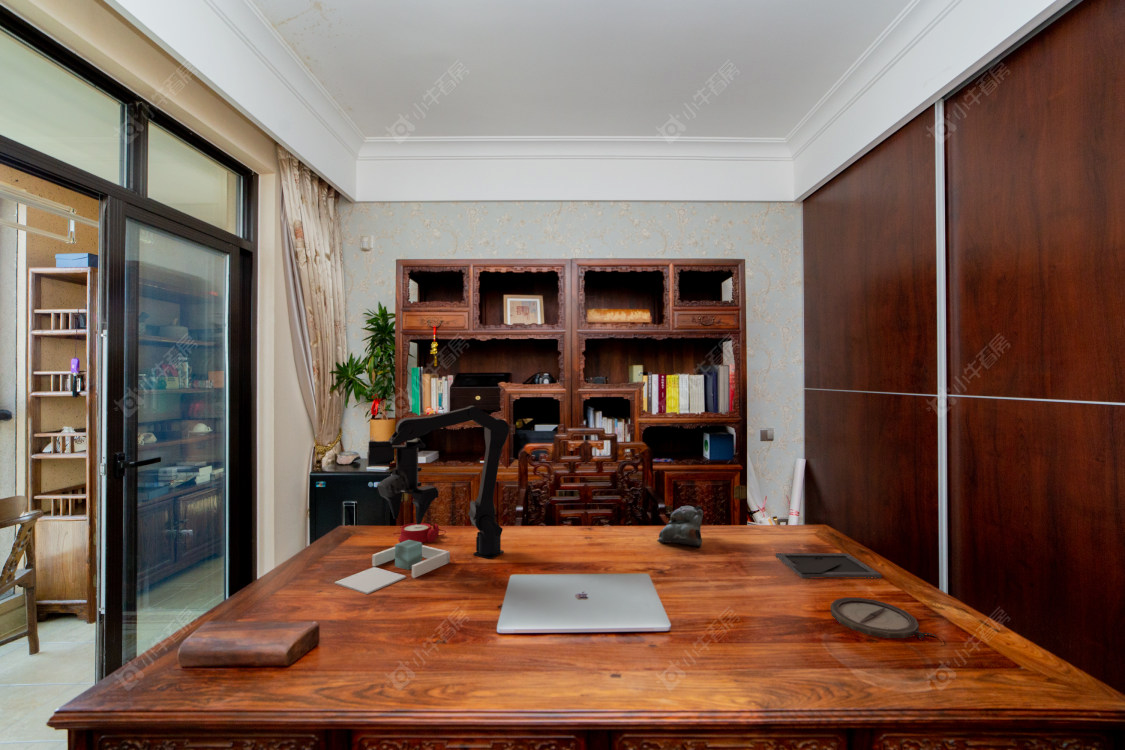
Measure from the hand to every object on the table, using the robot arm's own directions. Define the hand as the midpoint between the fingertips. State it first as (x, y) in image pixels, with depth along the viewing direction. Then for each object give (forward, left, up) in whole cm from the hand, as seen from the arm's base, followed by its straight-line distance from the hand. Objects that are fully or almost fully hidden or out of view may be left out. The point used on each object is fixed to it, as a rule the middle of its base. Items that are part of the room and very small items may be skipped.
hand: (407, 521), depth 144 cm
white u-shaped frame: (-1, -1, -12) cm, 12 cm away
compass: (-111, -29, -13) cm, 115 cm away
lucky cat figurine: (-58, -57, -12) cm, 83 cm away
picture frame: (-99, -60, -13) cm, 116 cm away
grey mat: (-1, +12, -12) cm, 17 cm away
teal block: (-1, 0, -12) cm, 12 cm away
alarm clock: (+13, -18, -12) cm, 26 cm away
